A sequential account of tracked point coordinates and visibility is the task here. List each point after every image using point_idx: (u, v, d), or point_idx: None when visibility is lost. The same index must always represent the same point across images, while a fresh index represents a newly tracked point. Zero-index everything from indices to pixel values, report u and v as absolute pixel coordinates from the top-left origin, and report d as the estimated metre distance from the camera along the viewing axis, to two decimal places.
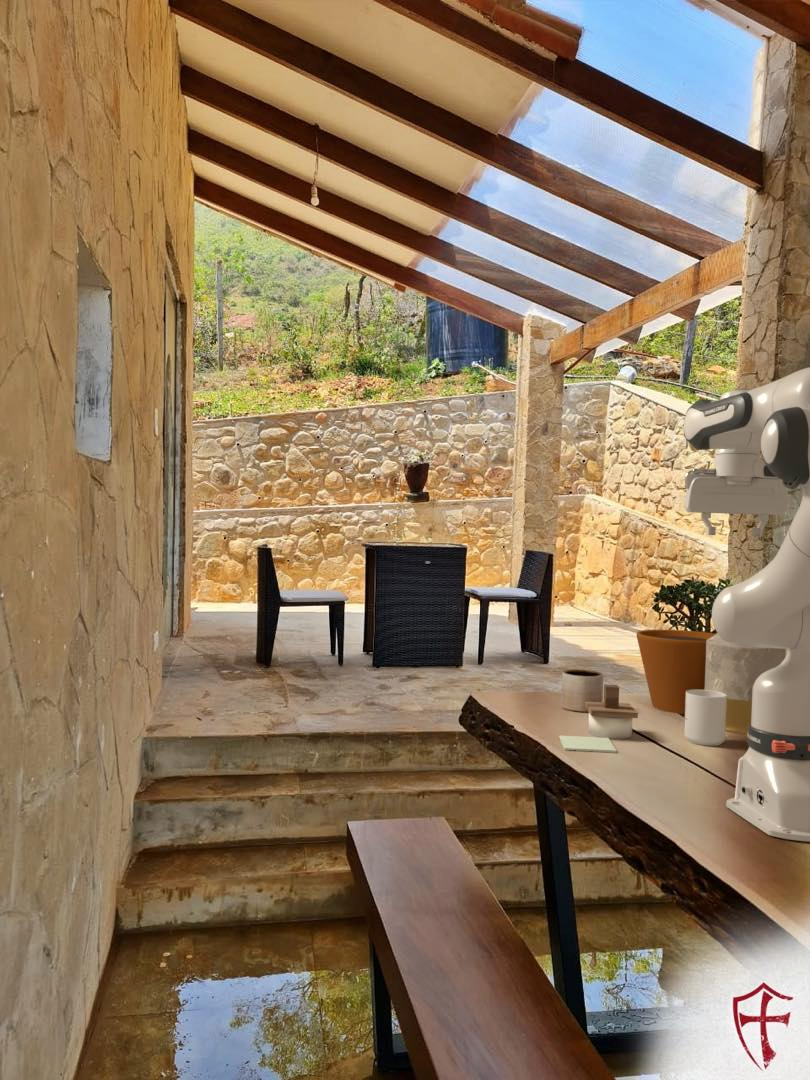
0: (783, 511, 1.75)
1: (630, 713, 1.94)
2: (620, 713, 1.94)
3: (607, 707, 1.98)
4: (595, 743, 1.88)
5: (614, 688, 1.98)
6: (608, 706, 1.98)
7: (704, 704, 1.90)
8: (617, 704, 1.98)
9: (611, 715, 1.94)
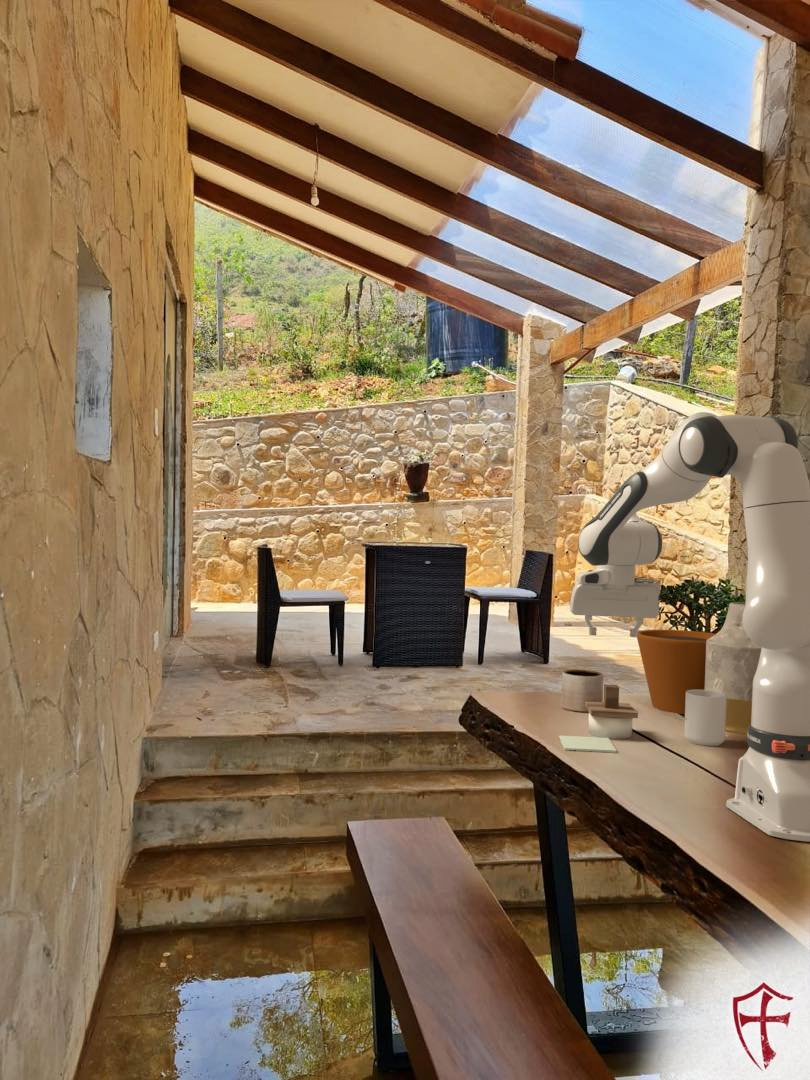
0: None
1: (630, 713, 1.94)
2: (620, 713, 1.94)
3: (607, 707, 1.98)
4: (595, 743, 1.88)
5: (614, 688, 1.98)
6: (608, 706, 1.98)
7: (704, 704, 1.90)
8: (617, 704, 1.98)
9: (611, 715, 1.94)
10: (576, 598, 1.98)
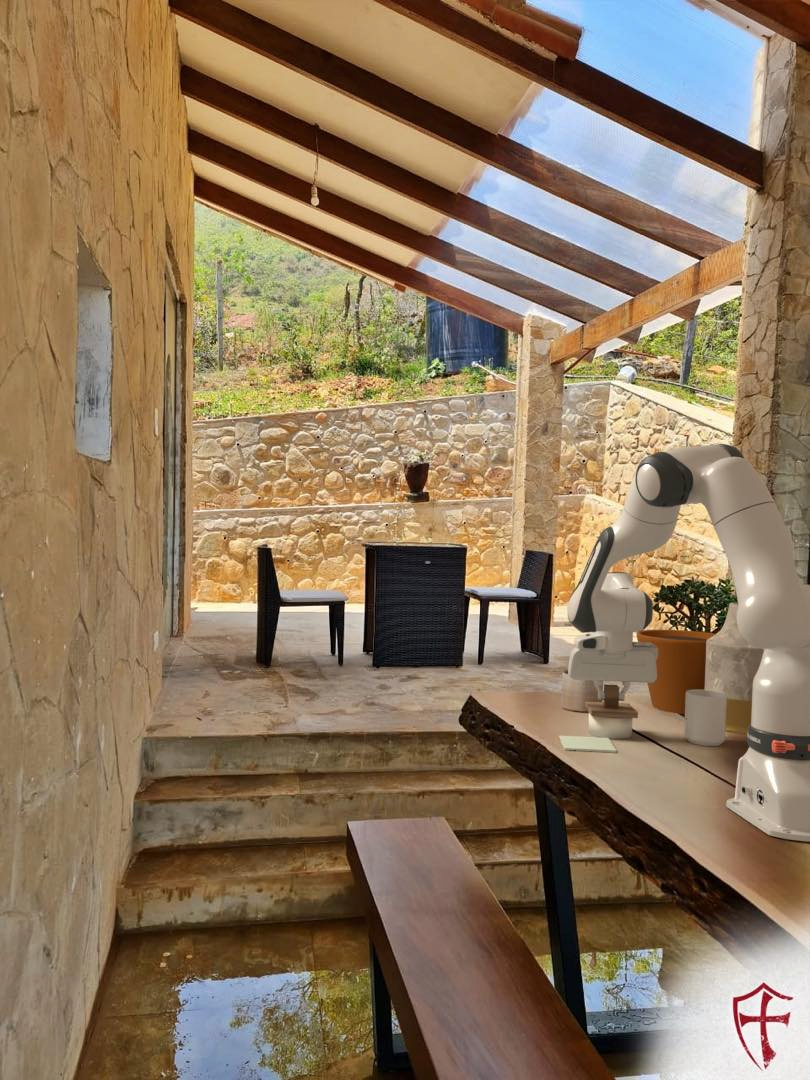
0: None
1: (630, 713, 1.94)
2: (620, 713, 1.94)
3: (607, 707, 1.98)
4: (595, 743, 1.88)
5: (614, 688, 1.98)
6: (608, 706, 1.98)
7: (704, 704, 1.90)
8: (617, 704, 1.98)
9: (611, 715, 1.94)
10: (574, 662, 1.98)
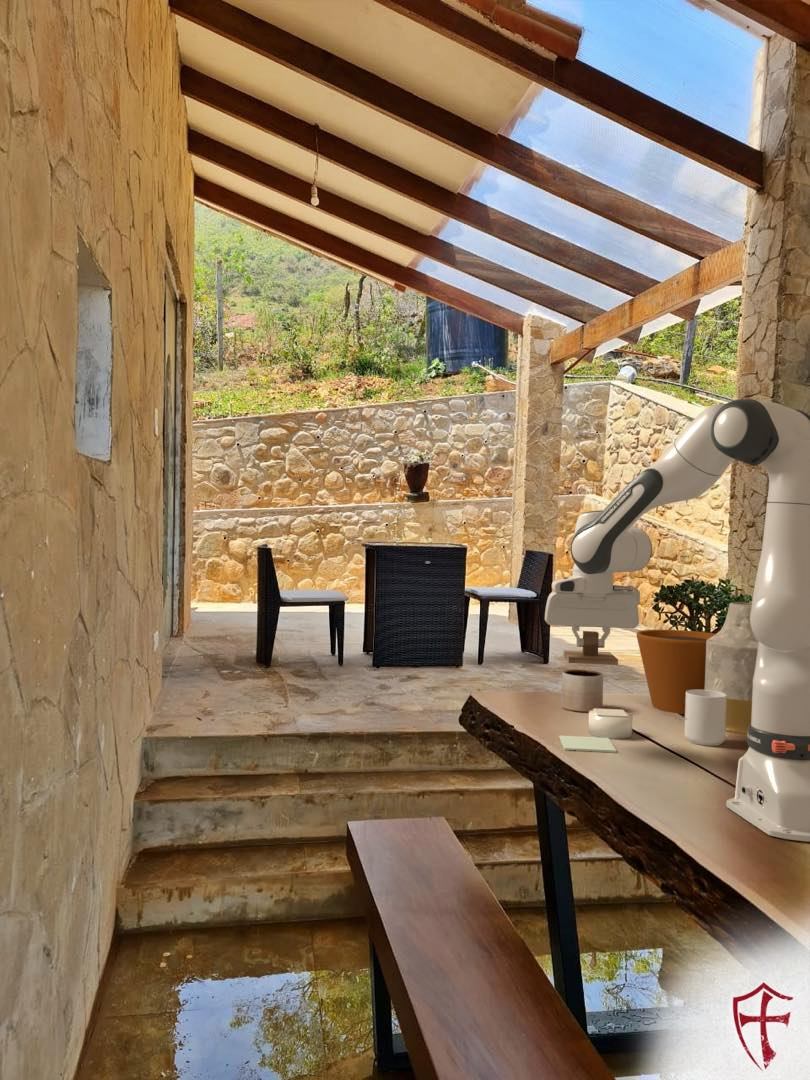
0: None
1: (610, 660, 1.82)
2: (599, 660, 1.83)
3: (586, 655, 1.86)
4: (595, 743, 1.88)
5: (593, 634, 1.86)
6: (587, 654, 1.86)
7: (704, 704, 1.90)
8: (596, 651, 1.86)
9: (590, 662, 1.83)
10: (551, 607, 1.86)
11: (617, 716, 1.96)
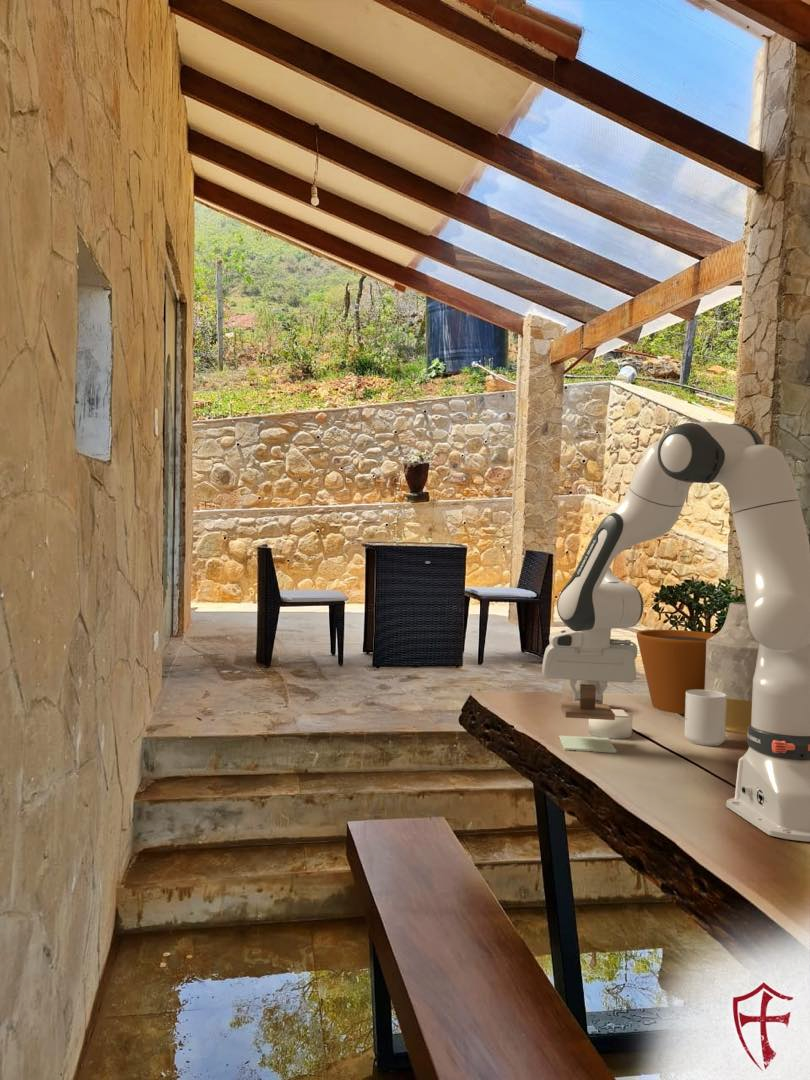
0: None
1: (607, 715, 1.83)
2: (596, 714, 1.83)
3: (583, 708, 1.87)
4: (595, 743, 1.88)
5: (590, 688, 1.86)
6: (584, 707, 1.87)
7: (704, 704, 1.90)
8: (593, 705, 1.86)
9: (587, 717, 1.83)
10: (548, 661, 1.86)
11: (617, 716, 1.96)
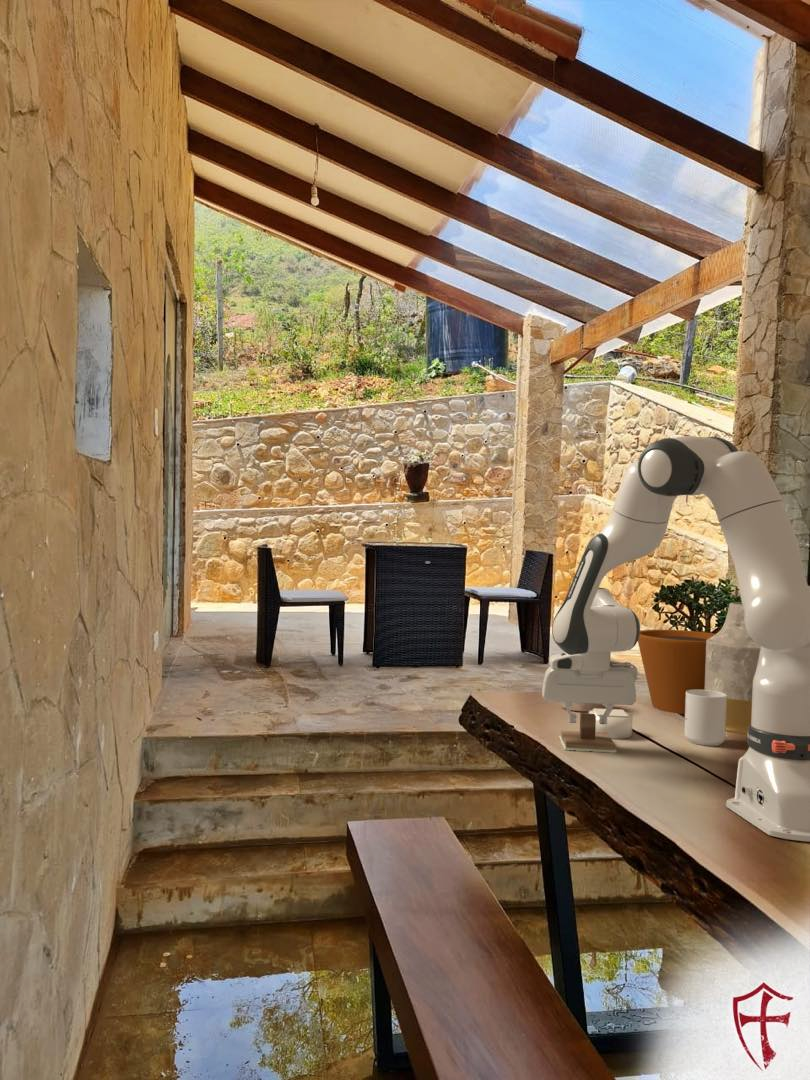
0: None
1: (607, 745, 1.83)
2: (596, 745, 1.83)
3: (583, 738, 1.87)
4: None
5: (590, 717, 1.87)
6: (584, 737, 1.87)
7: (704, 704, 1.90)
8: (594, 734, 1.87)
9: (587, 747, 1.83)
10: (548, 684, 1.86)
11: (617, 716, 1.96)
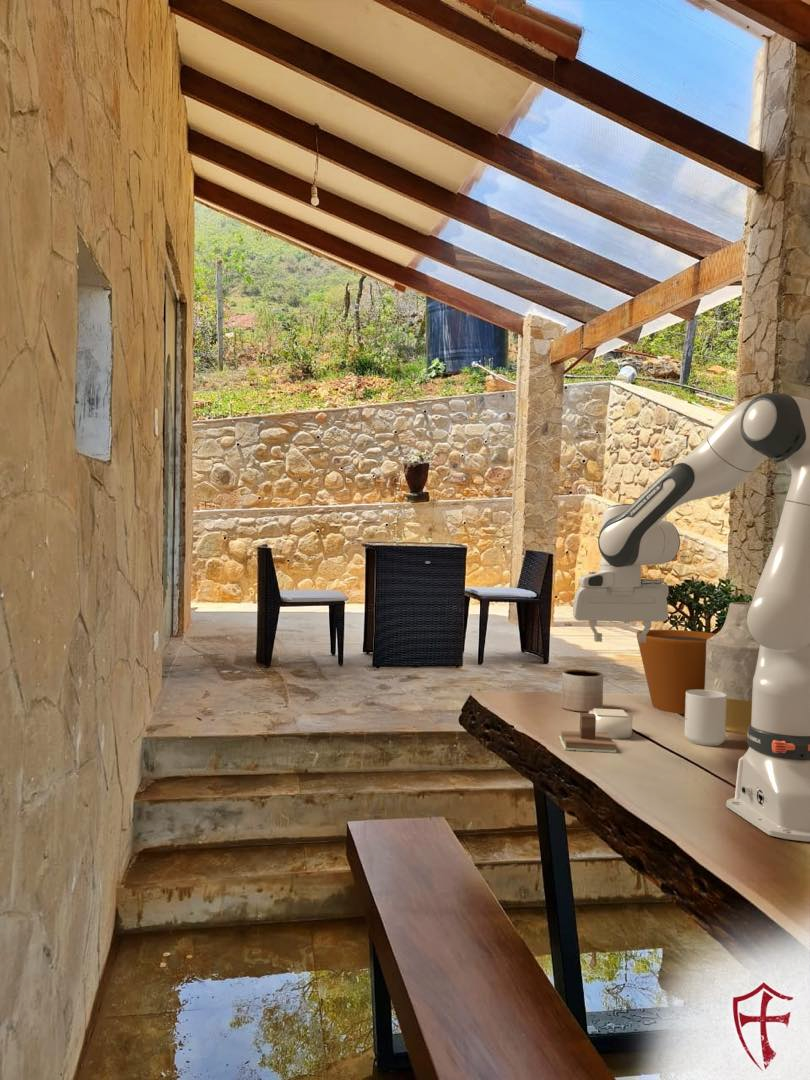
0: None
1: (607, 745, 1.83)
2: (596, 745, 1.83)
3: (583, 738, 1.87)
4: None
5: (590, 717, 1.87)
6: (584, 737, 1.87)
7: (704, 704, 1.90)
8: (594, 734, 1.87)
9: (587, 747, 1.83)
10: (579, 602, 1.85)
11: (617, 716, 1.96)
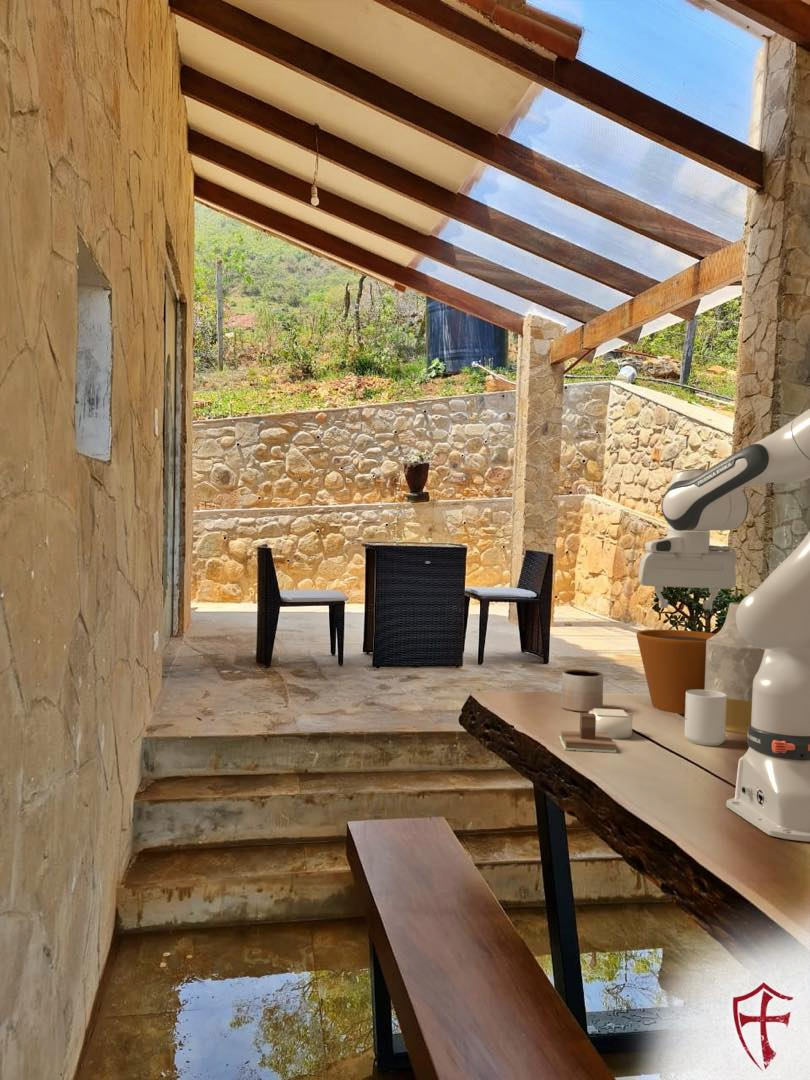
0: None
1: (607, 745, 1.83)
2: (596, 745, 1.83)
3: (583, 738, 1.87)
4: None
5: (590, 717, 1.87)
6: (584, 737, 1.87)
7: (704, 704, 1.90)
8: (594, 734, 1.87)
9: (587, 747, 1.83)
10: (646, 567, 1.84)
11: (617, 716, 1.96)
